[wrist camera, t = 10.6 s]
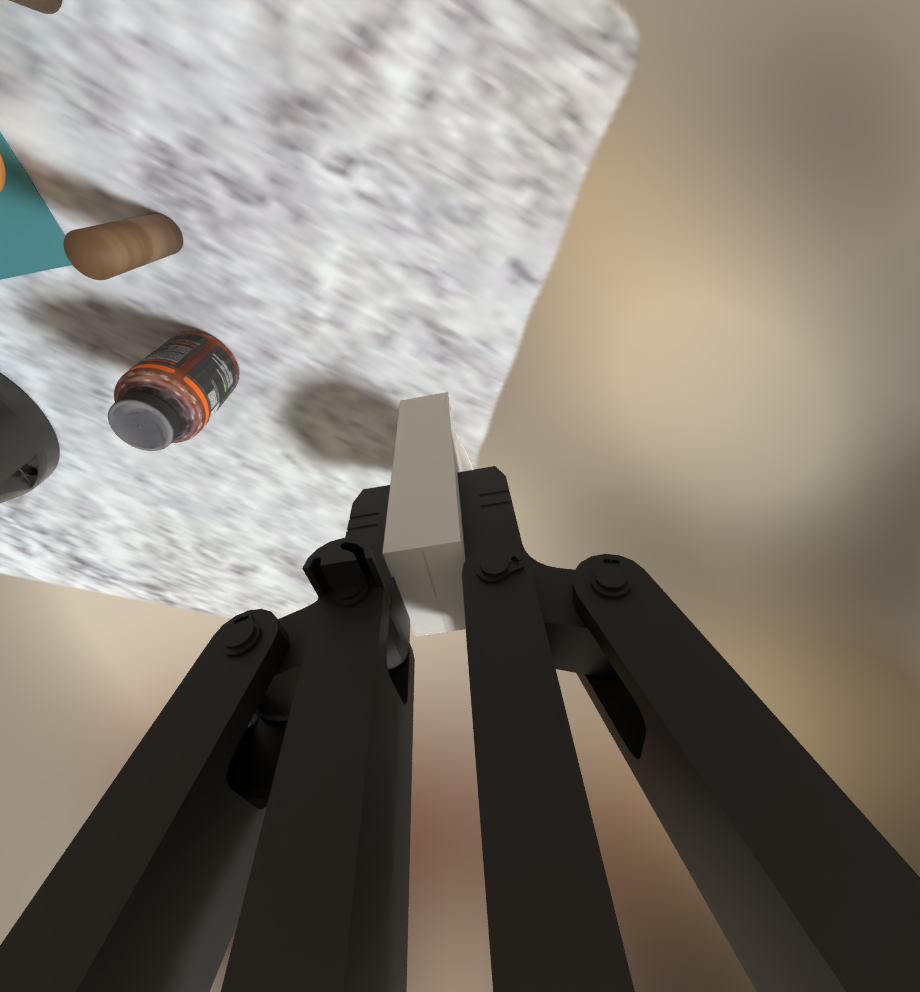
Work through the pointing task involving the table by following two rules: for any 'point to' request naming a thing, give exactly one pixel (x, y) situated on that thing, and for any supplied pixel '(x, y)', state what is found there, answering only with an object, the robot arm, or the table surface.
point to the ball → (2, 174)
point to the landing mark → (26, 224)
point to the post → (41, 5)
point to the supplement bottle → (173, 391)
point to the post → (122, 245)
